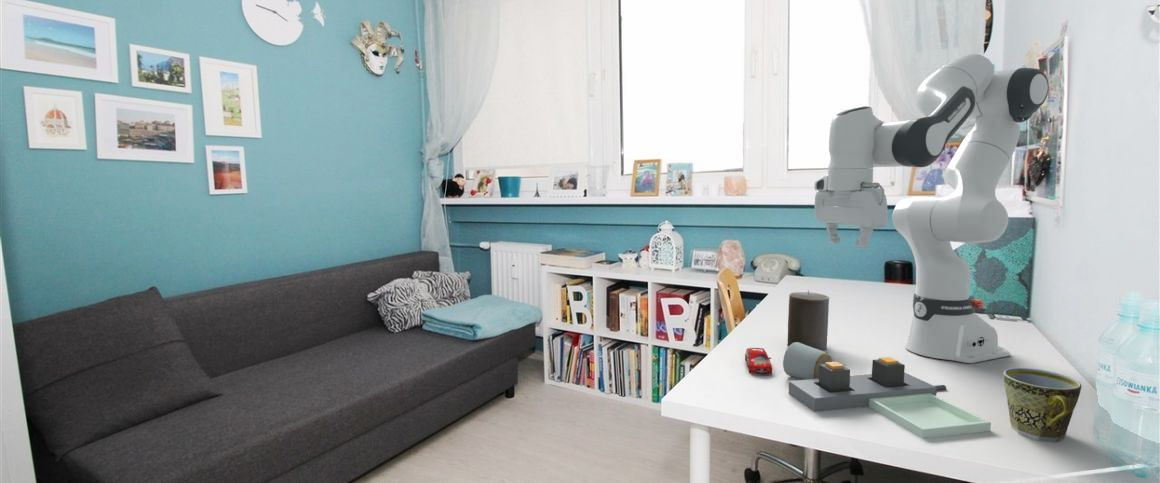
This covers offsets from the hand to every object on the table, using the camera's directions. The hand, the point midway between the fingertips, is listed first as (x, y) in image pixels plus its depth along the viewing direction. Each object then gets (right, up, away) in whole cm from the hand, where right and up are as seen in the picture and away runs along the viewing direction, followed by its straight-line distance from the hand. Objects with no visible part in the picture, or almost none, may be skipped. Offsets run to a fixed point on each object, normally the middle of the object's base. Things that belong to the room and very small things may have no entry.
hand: (847, 245), depth 120 cm
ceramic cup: (+18, -32, -29) cm, 47 cm away
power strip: (0, -31, -11) cm, 32 cm away
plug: (+3, -29, -10) cm, 31 cm away
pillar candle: (0, -27, +22) cm, 35 cm away
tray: (+4, -32, -21) cm, 38 cm away
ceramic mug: (-8, -30, 0) cm, 31 cm away
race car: (-17, -29, +8) cm, 35 cm away
